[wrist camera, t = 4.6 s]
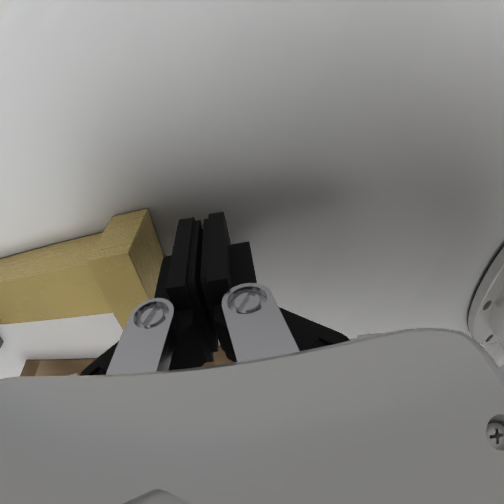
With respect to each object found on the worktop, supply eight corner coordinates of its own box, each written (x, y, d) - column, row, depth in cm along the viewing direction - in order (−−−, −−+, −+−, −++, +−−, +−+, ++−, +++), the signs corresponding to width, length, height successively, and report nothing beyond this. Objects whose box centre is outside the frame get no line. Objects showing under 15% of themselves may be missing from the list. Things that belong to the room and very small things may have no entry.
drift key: (147, 208, 12) (127, 252, 9) (172, 279, 14) (163, 331, 11) (-27, 257, 12) (-55, 293, 9) (2, 305, 14) (-20, 343, 11)
